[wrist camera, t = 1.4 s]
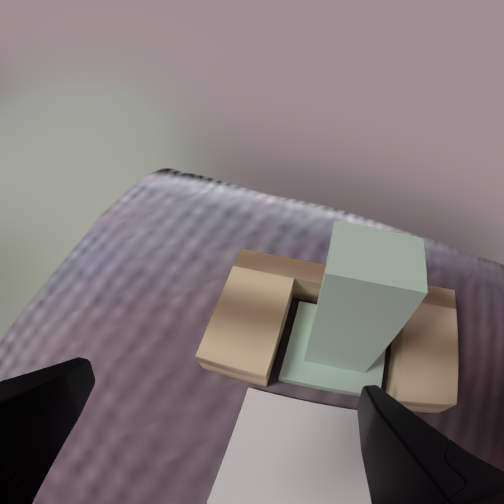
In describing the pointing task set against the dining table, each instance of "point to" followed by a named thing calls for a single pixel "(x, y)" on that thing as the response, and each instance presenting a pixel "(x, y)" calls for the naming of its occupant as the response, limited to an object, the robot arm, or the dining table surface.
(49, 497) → the dining table surface
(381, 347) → the mint green pillar
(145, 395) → the dining table surface
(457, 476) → the robot arm
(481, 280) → the dining table surface
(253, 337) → the stand
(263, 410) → the mat
